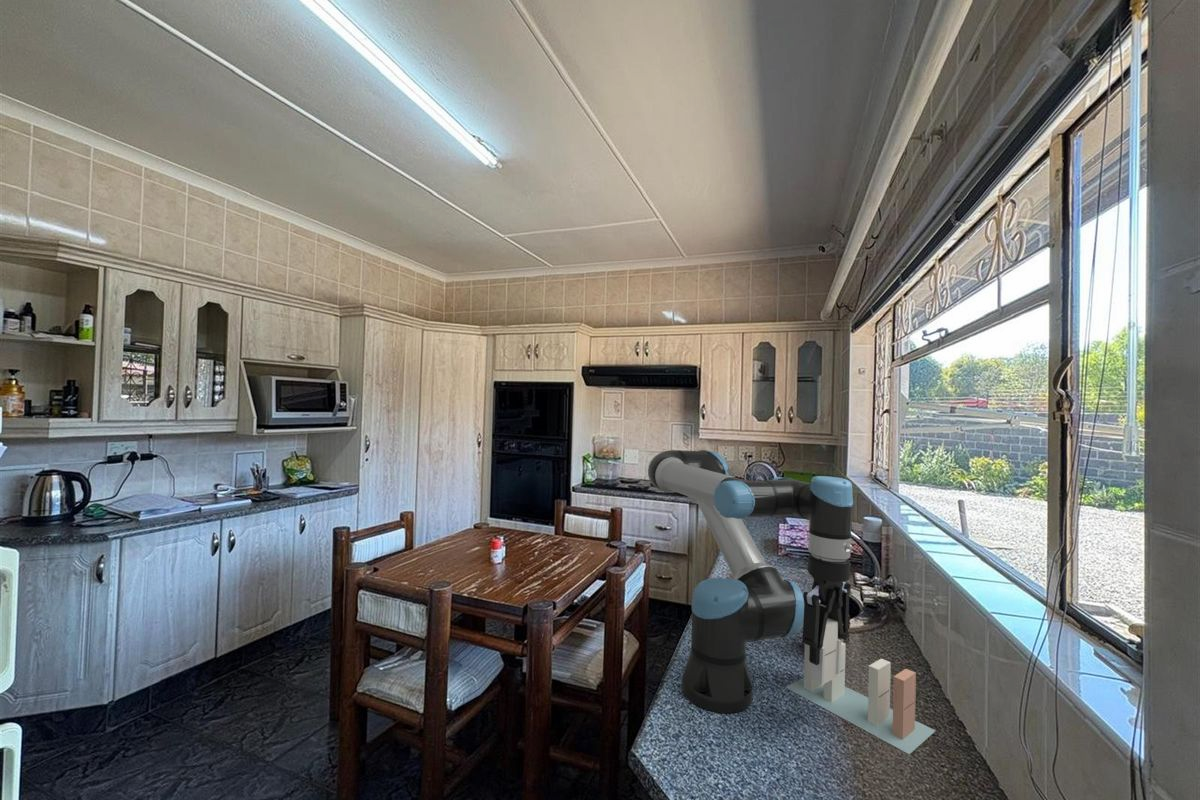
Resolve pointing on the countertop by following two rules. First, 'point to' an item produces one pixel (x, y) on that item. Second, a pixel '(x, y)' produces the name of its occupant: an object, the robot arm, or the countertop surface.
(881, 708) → the domino
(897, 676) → the end domino
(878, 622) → the countertop surface
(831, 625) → the domino
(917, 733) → the mat
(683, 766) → the countertop surface
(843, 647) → the domino
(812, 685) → the domino
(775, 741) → the countertop surface
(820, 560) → the robot arm
